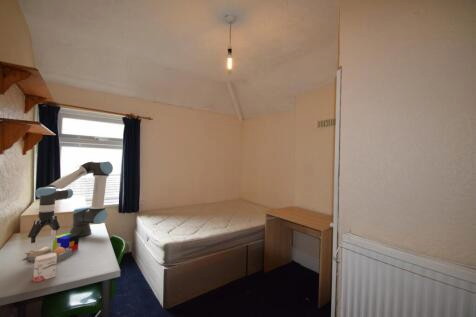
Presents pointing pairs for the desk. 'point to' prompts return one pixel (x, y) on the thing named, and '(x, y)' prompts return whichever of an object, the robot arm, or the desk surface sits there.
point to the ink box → (45, 267)
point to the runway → (47, 251)
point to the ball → (59, 250)
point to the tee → (29, 253)
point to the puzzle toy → (66, 241)
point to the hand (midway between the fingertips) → (44, 243)
